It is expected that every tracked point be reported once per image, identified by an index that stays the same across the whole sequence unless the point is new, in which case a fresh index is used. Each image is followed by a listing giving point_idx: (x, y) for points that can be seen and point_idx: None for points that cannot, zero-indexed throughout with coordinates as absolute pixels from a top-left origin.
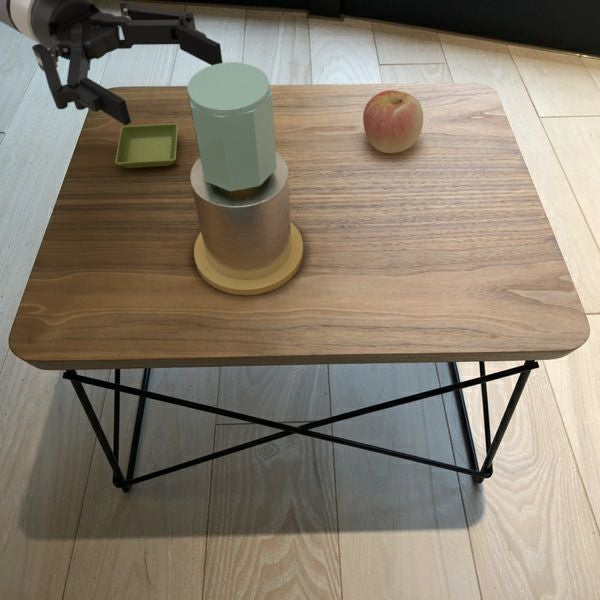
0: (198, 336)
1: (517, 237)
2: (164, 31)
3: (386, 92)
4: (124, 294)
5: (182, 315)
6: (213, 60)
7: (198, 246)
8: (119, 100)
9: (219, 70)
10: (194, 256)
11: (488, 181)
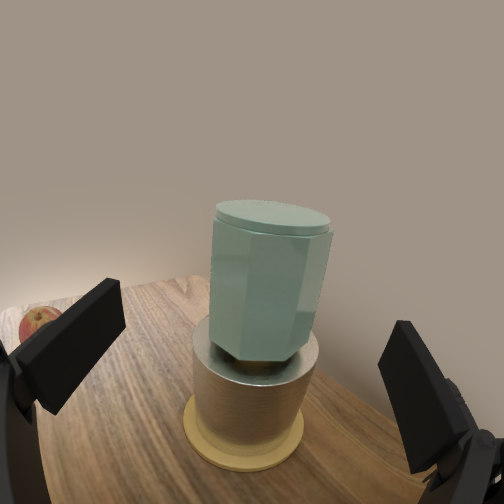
0: (345, 404)
1: (141, 293)
2: (17, 425)
3: (26, 321)
4: (369, 474)
5: (343, 425)
6: (118, 320)
7: (277, 456)
8: (406, 325)
9: (252, 215)
10: (291, 451)
11: None
